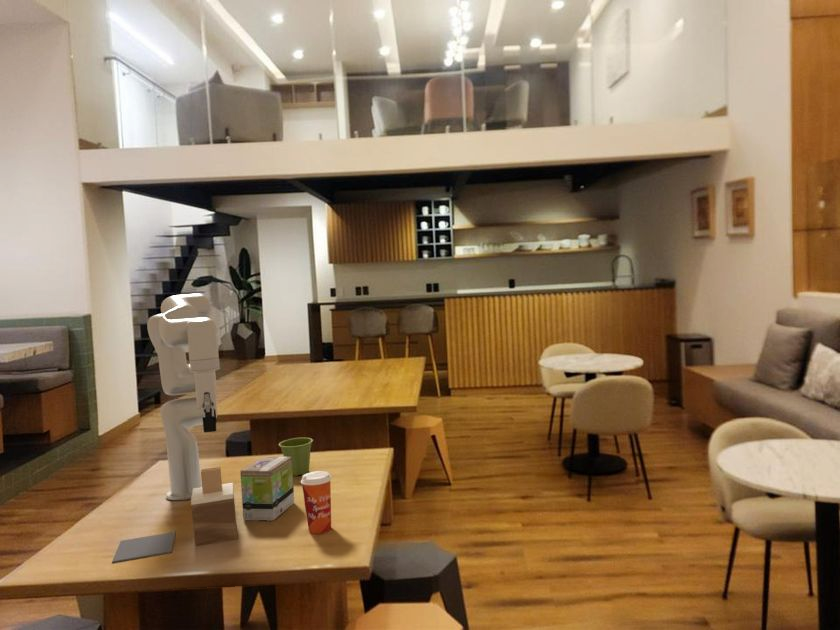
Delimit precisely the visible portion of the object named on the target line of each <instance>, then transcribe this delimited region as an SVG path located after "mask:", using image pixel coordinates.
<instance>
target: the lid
mask: <svg viewBox="0 0 840 630" xmlns="http://www.w3.org/2000/svg"><path fill="white" fill-rule="evenodd" d="M221 469H222V468H221V466H217V467H211V468H204V469H200V476H201V485H202V487H200V488H193V492H192V497H191V499H190V505H194V504H201V503H207V502H214V501H220V500H226V499H233V491H234V482H228V483H223V481H222V470H221Z"/></svg>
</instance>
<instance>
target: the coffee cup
mask: <svg viewBox="0 0 840 630" xmlns="http://www.w3.org/2000/svg"><path fill="white" fill-rule="evenodd" d="M301 476H302V477H301V480H300V483H301V487H302V493H303V499H304V500H303V501H304V509H305V515H306V522H307V526H308V527H307V528H308V532H309V533H311V534H313V533H314V534H313V535H316V534H317V535H318V534H319V533H320V534H324V532H325V533H327V531H328V532H329V531H331V530H332V529H331V528H332V503H331V502H332V497H331V496H332V495H331V494H332V493H331V488H332V487H331V480H332V476H331V474H330V473H329V472H328V471H323V470H317V471H309V472H308V473H306V474H304V475H301ZM320 534H319V535H320Z"/></svg>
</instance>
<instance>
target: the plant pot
mask: <svg viewBox="0 0 840 630" xmlns="http://www.w3.org/2000/svg"><path fill="white" fill-rule="evenodd" d="M313 441H314V439H312V438H311V437H294V438H289V439H286V440H285V439H284V440H283V441H280V442H279V443H278V447H280V450H281V452H282V456H283V457H291V459H292V472H293V477H297V476H299V475H300V476H303V475H304V474H306V473H310V463H311V462H310V461H311V449H312V443H313Z"/></svg>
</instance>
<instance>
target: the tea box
mask: <svg viewBox="0 0 840 630" xmlns="http://www.w3.org/2000/svg"><path fill="white" fill-rule="evenodd" d="M239 473H240V487H241V489H240V490H241V504H242V505H241V506H242V518H243V520H244V521H258V520H267V521H268V522H269V521H275V520H276V519H277V518H278V517H279V516H280V515H281V514H283V513H284V512H285V511H286V510H288V509H289V507H291V506H292V505H294V503H295V491H294V476H293V472H292V459H291V457H284V456H262V457H260V458H258V459H257V460H255V461H254V462H252V463H251V464H249V465H247V466H246V467H244V468H242V469H241V470H240V472H239Z"/></svg>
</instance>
